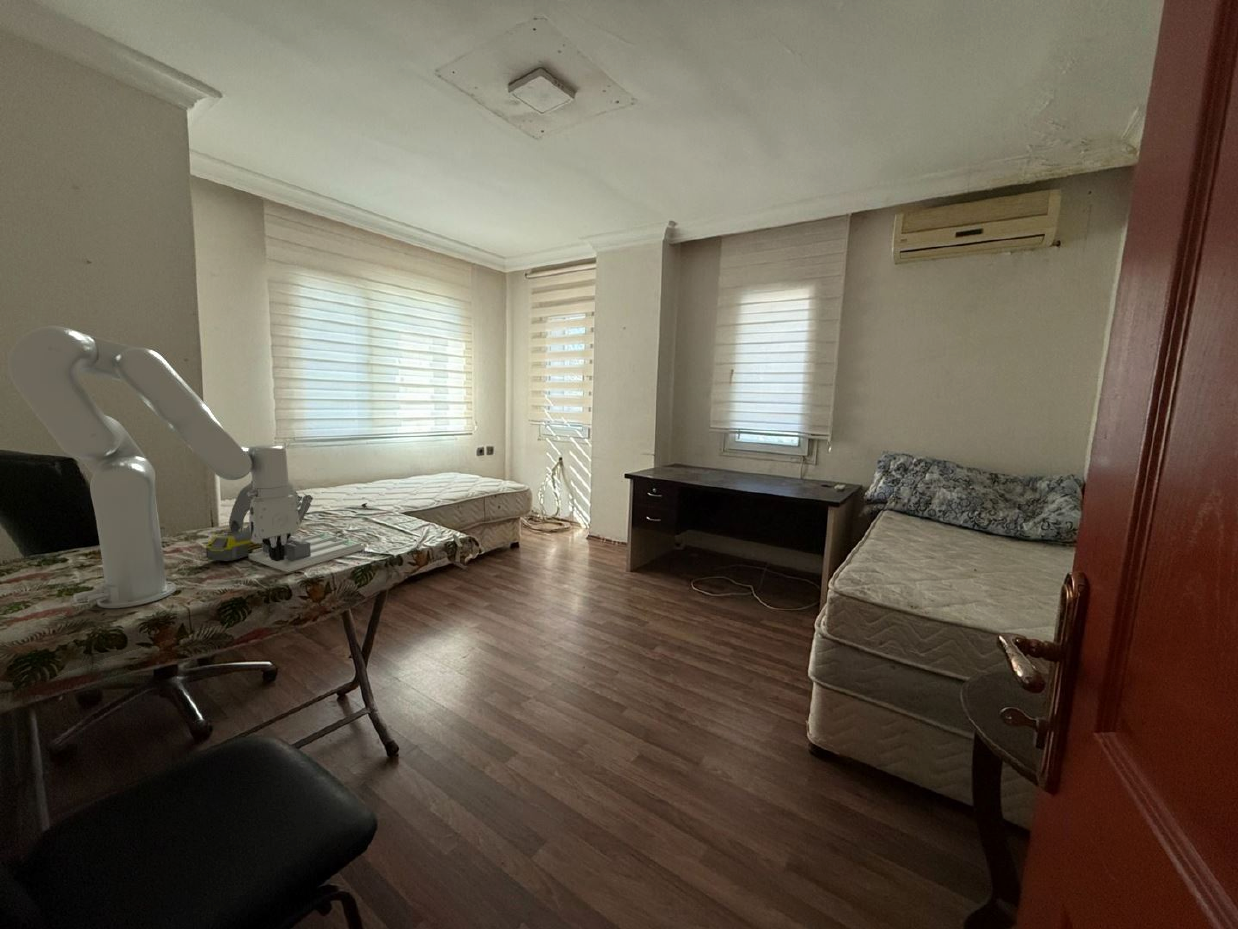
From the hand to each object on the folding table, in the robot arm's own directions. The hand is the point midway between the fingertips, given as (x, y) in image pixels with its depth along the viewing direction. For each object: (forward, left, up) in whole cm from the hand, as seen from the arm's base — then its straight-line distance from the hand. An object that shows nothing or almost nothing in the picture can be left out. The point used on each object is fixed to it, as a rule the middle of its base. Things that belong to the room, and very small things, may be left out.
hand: (277, 559), depth 124 cm
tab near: (+5, 0, -2) cm, 6 cm away
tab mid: (+5, +6, -2) cm, 8 cm away
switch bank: (+11, +6, -3) cm, 13 cm away
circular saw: (+9, +25, -3) cm, 27 cm away
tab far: (+5, +12, -2) cm, 13 cm away
